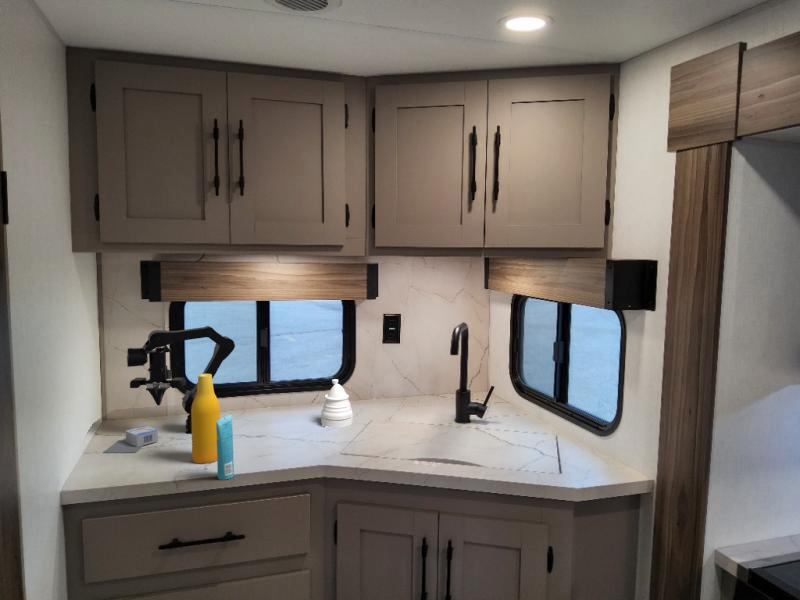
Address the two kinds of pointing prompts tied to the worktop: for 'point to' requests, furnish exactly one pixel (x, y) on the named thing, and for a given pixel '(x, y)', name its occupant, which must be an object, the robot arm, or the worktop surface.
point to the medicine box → (141, 436)
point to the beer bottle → (204, 421)
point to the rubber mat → (122, 447)
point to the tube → (225, 448)
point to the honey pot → (337, 408)
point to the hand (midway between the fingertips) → (158, 405)
